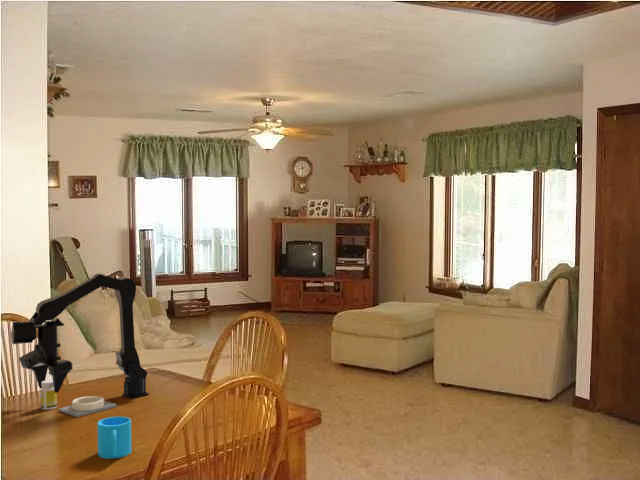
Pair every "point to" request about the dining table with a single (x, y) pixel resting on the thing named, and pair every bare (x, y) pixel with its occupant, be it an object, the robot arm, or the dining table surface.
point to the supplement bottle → (48, 395)
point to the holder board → (80, 413)
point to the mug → (114, 437)
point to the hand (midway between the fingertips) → (48, 390)
